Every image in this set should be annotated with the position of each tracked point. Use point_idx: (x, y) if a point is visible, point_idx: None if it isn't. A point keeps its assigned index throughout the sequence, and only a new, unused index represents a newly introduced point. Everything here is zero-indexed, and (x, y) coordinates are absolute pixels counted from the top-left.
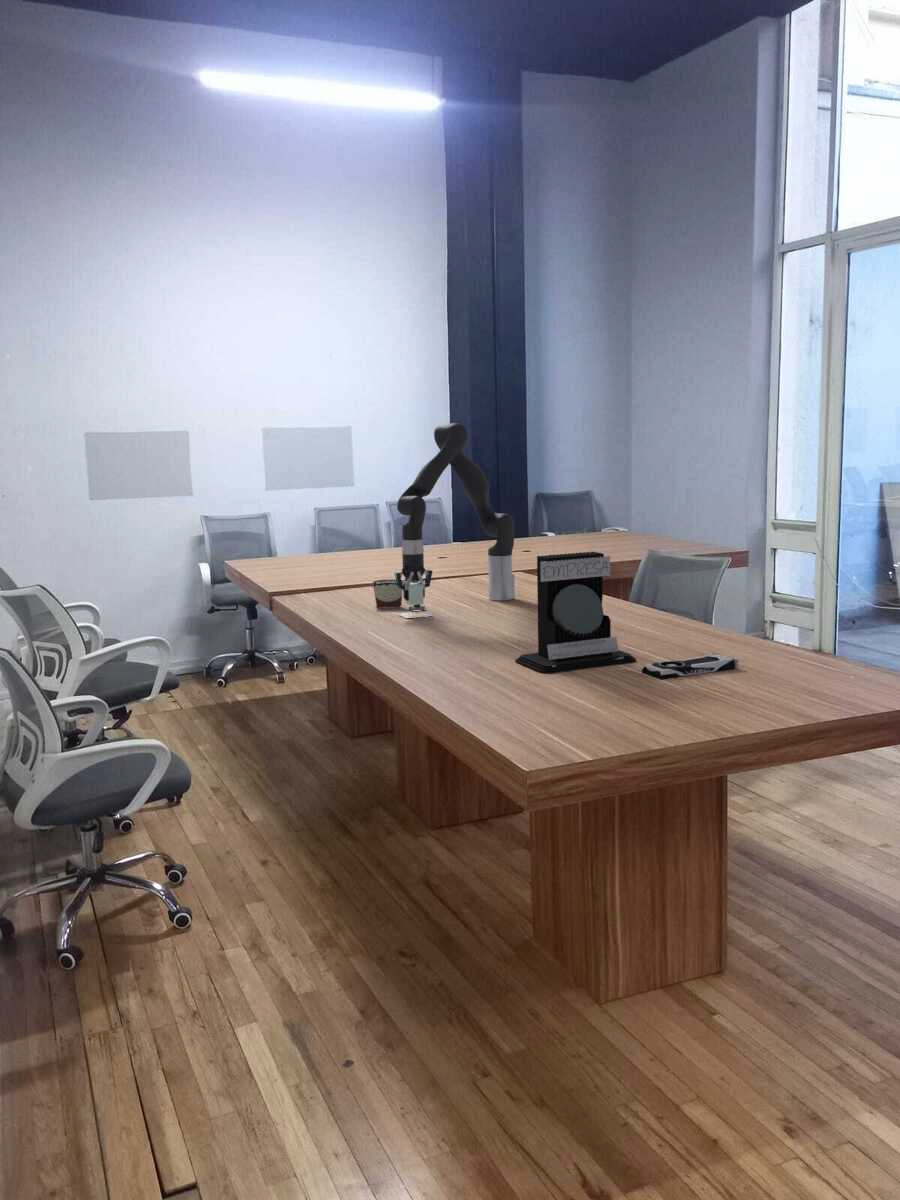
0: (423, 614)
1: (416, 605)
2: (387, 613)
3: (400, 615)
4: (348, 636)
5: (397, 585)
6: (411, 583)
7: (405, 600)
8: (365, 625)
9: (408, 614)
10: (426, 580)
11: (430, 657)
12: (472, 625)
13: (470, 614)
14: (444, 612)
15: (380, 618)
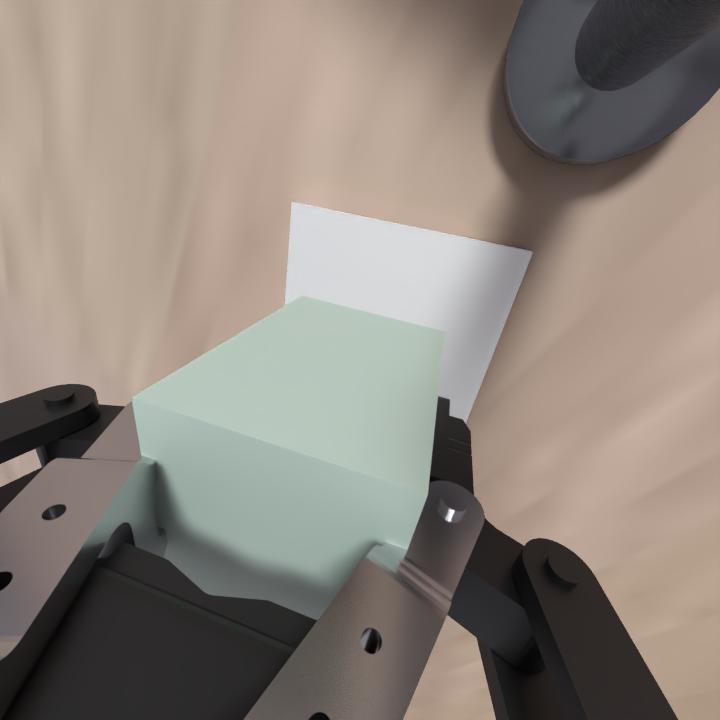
0: None
1: (591, 75)
2: (259, 55)
3: (286, 287)
4: (10, 480)
5: (10, 404)
6: (261, 458)
7: (288, 306)
8: (65, 369)
9: (349, 296)
10: (584, 696)
11: None
12: (443, 675)
13: (706, 563)
14: (662, 383)
15: (159, 248)
